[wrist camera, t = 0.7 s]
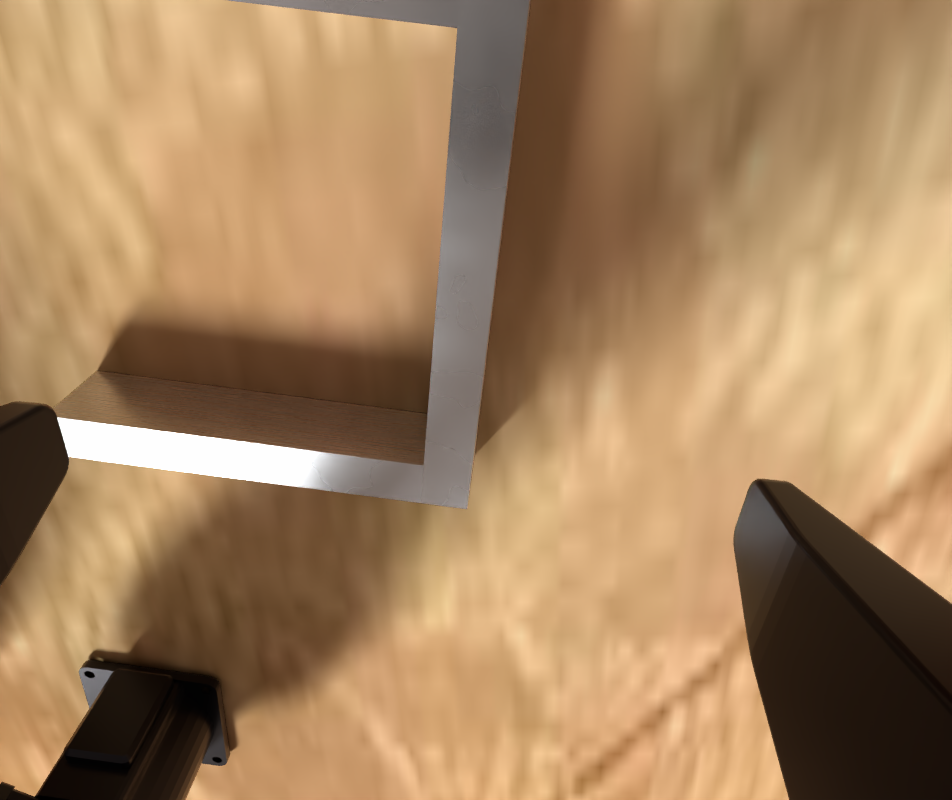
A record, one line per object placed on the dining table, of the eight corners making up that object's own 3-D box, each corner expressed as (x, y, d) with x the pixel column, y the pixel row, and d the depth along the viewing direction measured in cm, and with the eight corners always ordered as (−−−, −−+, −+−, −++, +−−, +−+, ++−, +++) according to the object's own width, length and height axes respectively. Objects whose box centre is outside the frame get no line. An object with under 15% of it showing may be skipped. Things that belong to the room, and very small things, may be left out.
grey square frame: (535, -39, 17) (534, -45, 14) (474, 455, 25) (466, 509, 22) (-2, -102, 17) (-98, -120, 15) (104, 406, 25) (54, 454, 22)
